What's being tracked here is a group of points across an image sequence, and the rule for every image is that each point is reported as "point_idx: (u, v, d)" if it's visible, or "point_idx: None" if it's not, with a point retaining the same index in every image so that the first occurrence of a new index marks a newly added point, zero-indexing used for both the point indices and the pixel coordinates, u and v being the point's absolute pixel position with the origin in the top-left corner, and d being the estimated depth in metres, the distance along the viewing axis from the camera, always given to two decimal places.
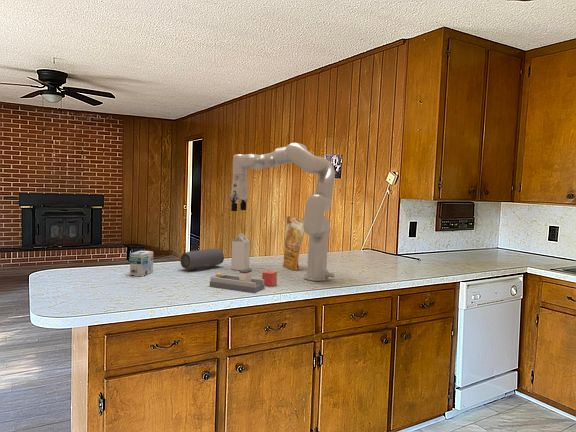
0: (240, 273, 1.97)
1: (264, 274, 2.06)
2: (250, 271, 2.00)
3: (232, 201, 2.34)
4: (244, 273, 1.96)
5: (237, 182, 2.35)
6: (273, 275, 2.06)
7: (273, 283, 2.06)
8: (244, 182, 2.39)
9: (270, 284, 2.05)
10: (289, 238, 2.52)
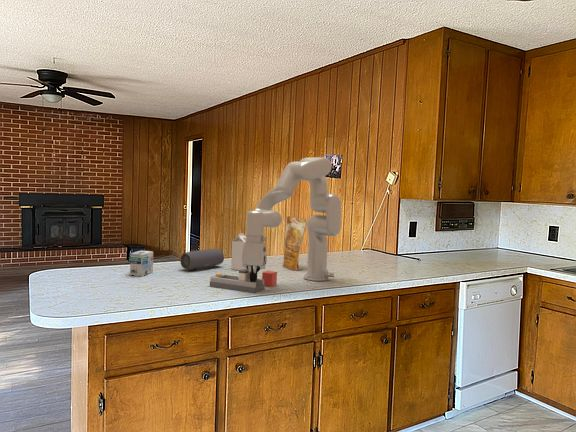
0: (239, 273, 1.97)
1: (264, 274, 2.06)
2: None
3: (258, 270, 1.96)
4: (243, 273, 1.96)
5: (265, 245, 1.96)
6: (273, 275, 2.06)
7: (273, 283, 2.06)
8: None
9: (270, 284, 2.05)
10: (289, 238, 2.52)
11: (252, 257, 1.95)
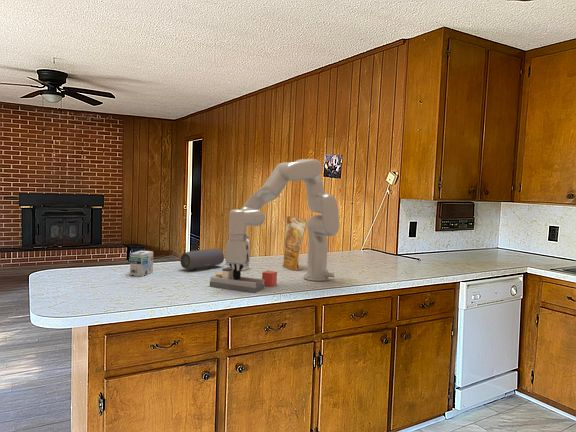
0: (223, 271, 2.00)
1: (264, 274, 2.06)
2: None
3: (241, 268, 2.00)
4: (227, 271, 1.99)
5: (247, 243, 1.99)
6: (273, 275, 2.06)
7: (273, 283, 2.06)
8: None
9: (270, 284, 2.05)
10: (289, 238, 2.52)
11: (235, 255, 1.98)
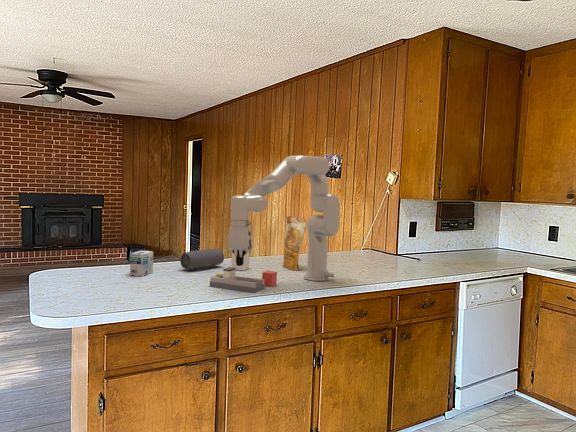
0: (224, 271, 2.00)
1: (264, 274, 2.06)
2: (234, 269, 2.03)
3: (244, 254, 1.99)
4: (228, 271, 1.99)
5: (250, 229, 1.99)
6: (273, 275, 2.06)
7: (273, 283, 2.06)
8: None
9: (270, 284, 2.05)
10: (289, 238, 2.52)
11: (237, 241, 1.97)
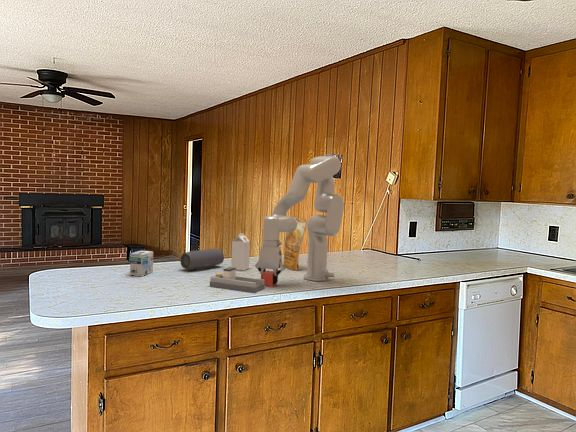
0: (224, 271, 2.00)
1: (264, 274, 2.06)
2: (234, 269, 2.03)
3: (278, 273, 2.06)
4: (228, 271, 1.99)
5: (280, 249, 2.06)
6: (273, 275, 2.06)
7: None
8: None
9: (270, 284, 2.05)
10: (289, 238, 2.52)
11: (268, 260, 2.05)
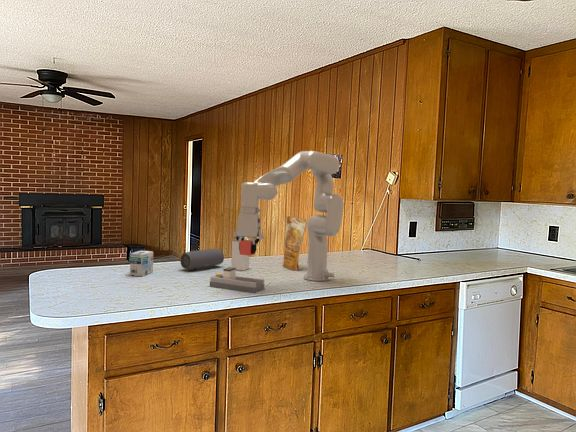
0: (224, 271, 2.00)
1: (242, 242, 1.97)
2: (234, 269, 2.03)
3: (257, 242, 1.96)
4: (228, 271, 1.99)
5: (259, 216, 1.97)
6: (251, 244, 1.96)
7: None
8: None
9: (248, 253, 1.96)
10: (289, 238, 2.52)
11: (246, 228, 1.96)
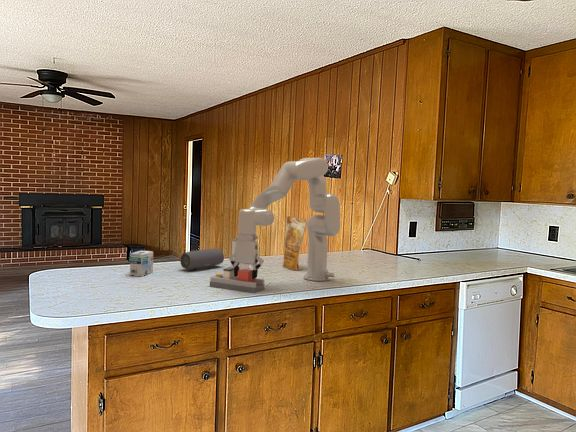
0: (224, 271, 2.00)
1: (240, 272, 1.97)
2: None
3: (258, 267, 1.96)
4: (228, 271, 1.99)
5: (257, 243, 1.97)
6: (249, 274, 1.97)
7: None
8: None
9: None
10: (289, 238, 2.52)
11: (244, 255, 1.96)
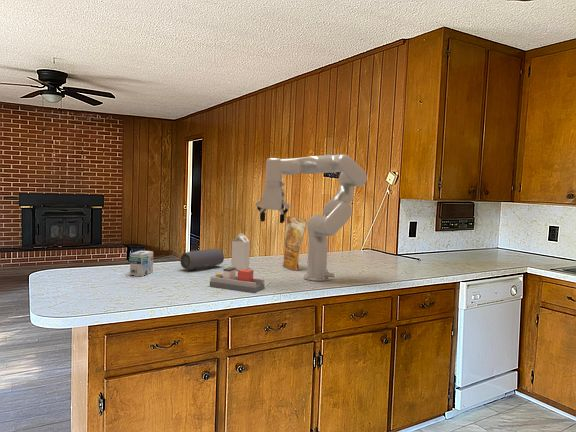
0: (224, 271, 2.00)
1: (240, 272, 1.97)
2: (234, 269, 2.03)
3: (285, 212, 2.08)
4: (228, 271, 1.99)
5: (283, 190, 2.10)
6: (249, 274, 1.97)
7: None
8: None
9: None
10: (289, 238, 2.52)
11: (271, 201, 2.08)
